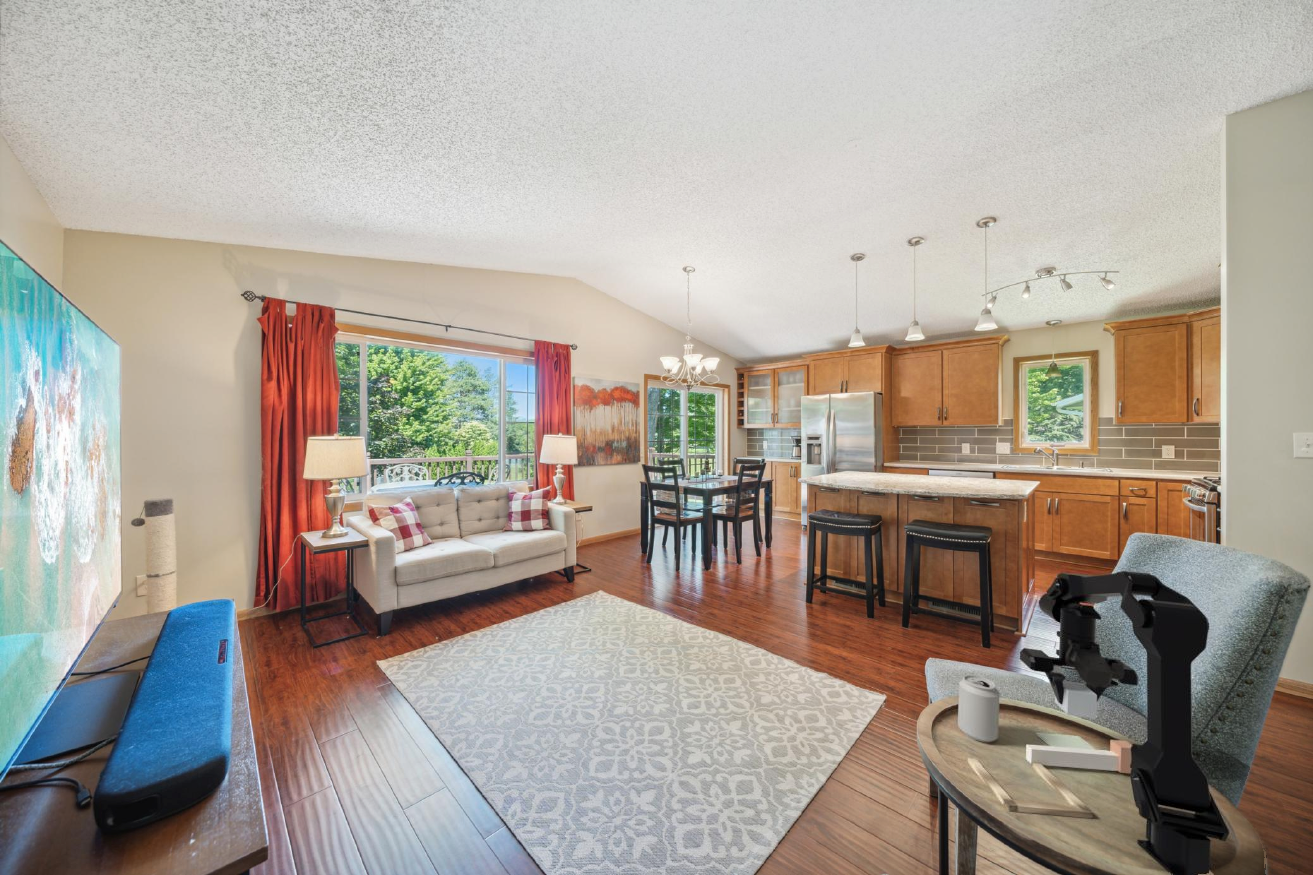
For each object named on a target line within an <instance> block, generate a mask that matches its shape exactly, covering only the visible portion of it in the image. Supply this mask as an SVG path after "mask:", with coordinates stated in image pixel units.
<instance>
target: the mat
mask: <svg viewBox="0 0 1313 875" xmlns="http://www.w3.org/2000/svg"><path fill="white" fill-rule="evenodd" d="M1035 735H1036V736H1037V737H1039V739H1040V740H1042V741H1043V742H1044V743H1045V744H1047V746H1053V747H1066V748H1079V749H1092V750H1097V749H1096V748H1095V747H1094V746H1093V745H1091V744H1090V743H1088V742H1087V741H1086V740H1084V739H1083V738H1082V737H1081V736H1079V735H1073V734H1072V735H1070V734H1056V733H1046V732H1045V733H1044V732H1042V733H1041V732H1036V733H1035Z"/></svg>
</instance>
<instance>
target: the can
mask: <svg viewBox="0 0 1313 875" xmlns="http://www.w3.org/2000/svg"><path fill="white" fill-rule="evenodd" d="M957 712H958V713H957V726H958V728H959V729H960V731H962V732H964V733H963V734H965V736H967V737H968V738H970V739H973V740H975V741H978V742H981V743H991V742H994V741H996V740H998V739H999V738H998V737H999V725H1000V724H999V723H1000V722H999V716H1000V691H999V690H998V689H997V684H996V683H995V682H994V681H992V680H991V679H989V678H986V677H984V676H981V675H976V674H965V675H963V676H962V679H961V680H960V681H959V683H958V710H957Z"/></svg>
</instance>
